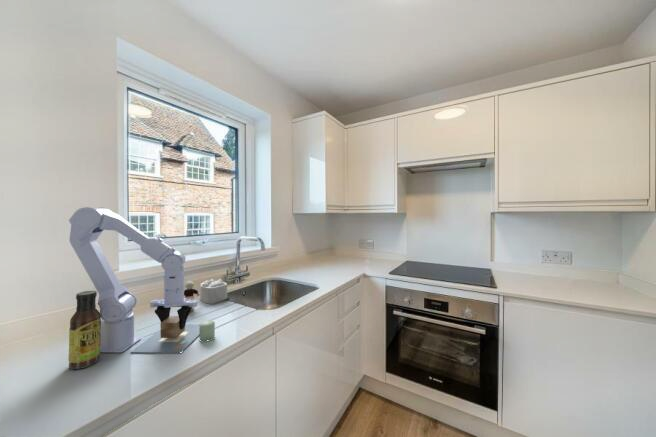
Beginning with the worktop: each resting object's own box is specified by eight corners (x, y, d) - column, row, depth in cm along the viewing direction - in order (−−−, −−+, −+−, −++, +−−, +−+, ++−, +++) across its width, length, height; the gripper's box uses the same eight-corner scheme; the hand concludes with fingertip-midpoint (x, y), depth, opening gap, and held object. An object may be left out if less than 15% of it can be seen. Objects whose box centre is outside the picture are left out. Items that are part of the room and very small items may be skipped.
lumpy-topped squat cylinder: (210, 304, 112) (210, 285, 112) (194, 298, 119) (194, 281, 119) (230, 298, 121) (230, 280, 120) (214, 292, 128) (214, 276, 127)
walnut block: (160, 338, 79) (160, 322, 79) (170, 330, 84) (170, 316, 84) (176, 338, 79) (176, 323, 79) (184, 330, 84) (184, 316, 84)
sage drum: (196, 341, 80) (196, 326, 80) (203, 334, 85) (203, 320, 85) (210, 341, 80) (210, 327, 80) (216, 334, 85) (216, 320, 85)
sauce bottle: (81, 372, 64) (80, 297, 64) (62, 369, 65) (61, 295, 65) (107, 358, 71) (106, 290, 70) (88, 355, 72) (88, 288, 71)
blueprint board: (130, 353, 73) (130, 351, 73) (168, 325, 91) (168, 323, 91) (181, 353, 74) (181, 351, 74) (208, 325, 92) (208, 324, 92)
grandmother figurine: (182, 314, 101) (182, 283, 101) (178, 311, 103) (178, 282, 103) (201, 308, 107) (201, 279, 107) (196, 306, 109) (197, 278, 109)
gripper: (143, 291, 78) (143, 333, 78) (189, 292, 78) (189, 334, 79) (158, 285, 85) (158, 323, 85) (200, 285, 85) (200, 323, 86)
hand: (174, 327), depth 82 cm, fingers closed on walnut block, 5 cm apart
